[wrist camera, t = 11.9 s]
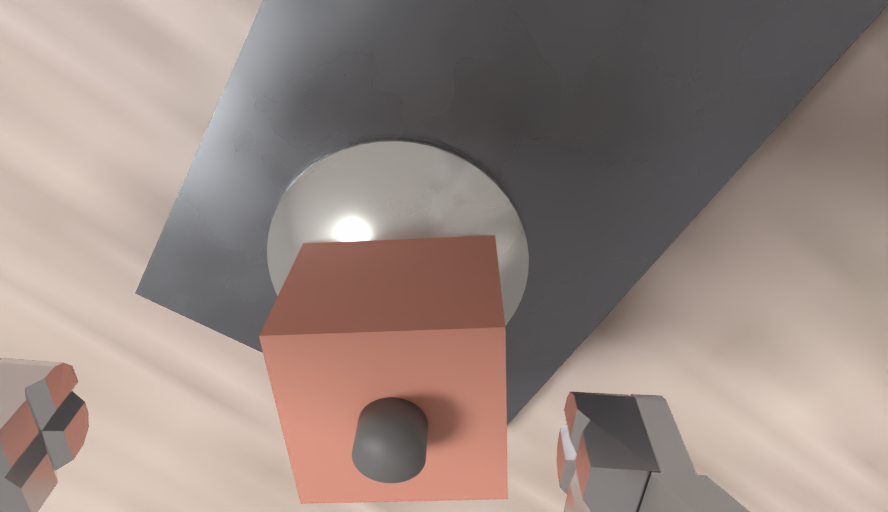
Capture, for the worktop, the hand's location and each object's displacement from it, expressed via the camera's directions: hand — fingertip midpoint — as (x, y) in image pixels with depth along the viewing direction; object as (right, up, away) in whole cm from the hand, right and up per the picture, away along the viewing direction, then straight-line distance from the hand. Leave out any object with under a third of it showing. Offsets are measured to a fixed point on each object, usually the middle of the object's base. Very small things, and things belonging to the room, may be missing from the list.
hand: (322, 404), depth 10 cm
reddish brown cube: (+1, +1, +8) cm, 8 cm away
